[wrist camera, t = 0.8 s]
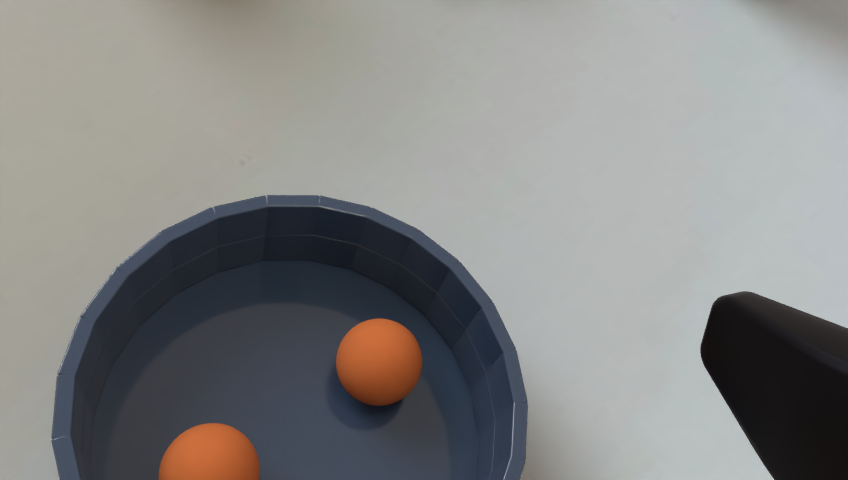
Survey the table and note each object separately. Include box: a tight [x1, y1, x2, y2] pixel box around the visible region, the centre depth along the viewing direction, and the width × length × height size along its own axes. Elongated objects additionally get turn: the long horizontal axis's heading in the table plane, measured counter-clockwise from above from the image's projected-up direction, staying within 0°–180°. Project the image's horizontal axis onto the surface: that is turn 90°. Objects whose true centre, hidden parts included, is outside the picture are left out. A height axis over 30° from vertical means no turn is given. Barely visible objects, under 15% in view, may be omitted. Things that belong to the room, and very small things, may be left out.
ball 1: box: [158, 423, 260, 480], centre depth 24 cm, size 3×3×3 cm
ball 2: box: [336, 319, 422, 406], centre depth 27 cm, size 3×3×3 cm
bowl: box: [52, 195, 528, 480], centre depth 25 cm, size 14×14×4 cm
